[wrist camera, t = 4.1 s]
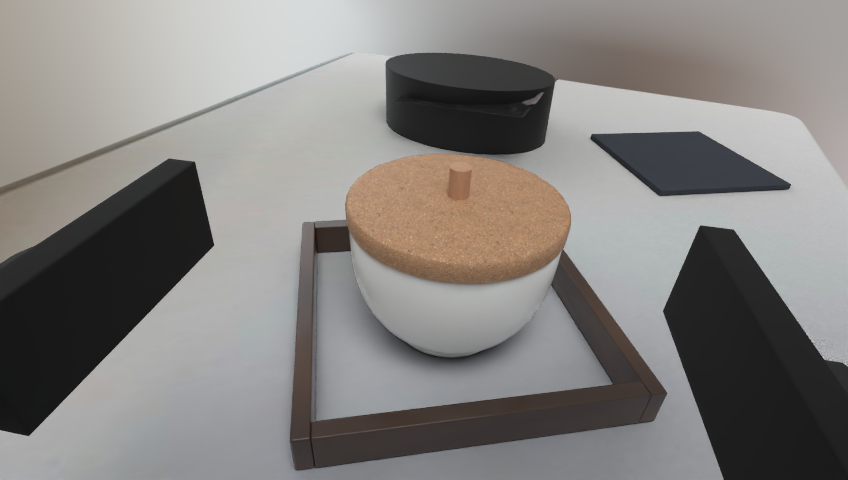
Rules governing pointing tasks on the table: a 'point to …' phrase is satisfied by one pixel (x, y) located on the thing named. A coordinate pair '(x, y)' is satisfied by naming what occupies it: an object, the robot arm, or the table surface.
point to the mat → (686, 163)
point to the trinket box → (454, 248)
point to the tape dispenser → (468, 102)
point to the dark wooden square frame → (472, 421)
